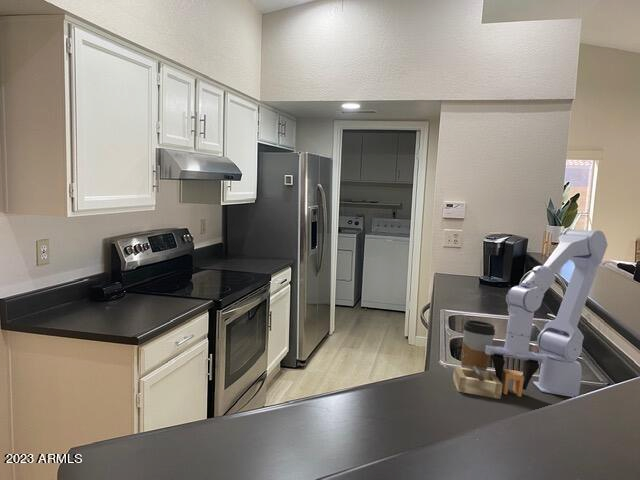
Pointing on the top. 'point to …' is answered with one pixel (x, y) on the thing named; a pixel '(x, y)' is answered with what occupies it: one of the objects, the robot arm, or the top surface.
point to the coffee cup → (476, 344)
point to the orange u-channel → (517, 381)
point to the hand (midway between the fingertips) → (510, 386)
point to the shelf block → (477, 382)
